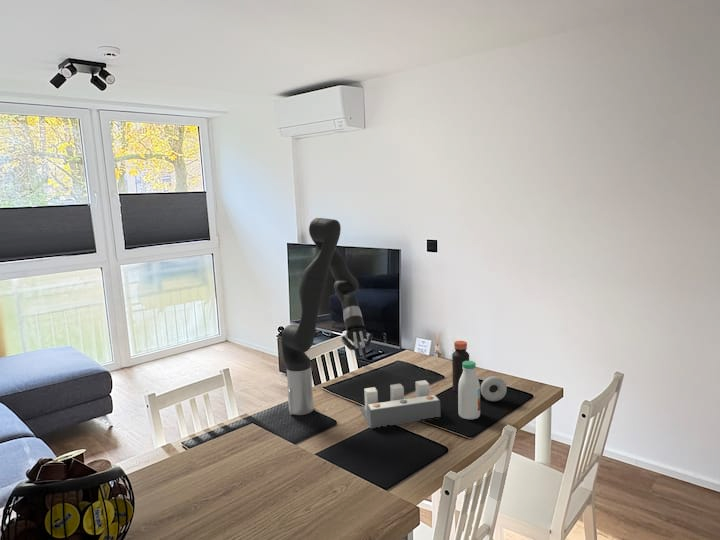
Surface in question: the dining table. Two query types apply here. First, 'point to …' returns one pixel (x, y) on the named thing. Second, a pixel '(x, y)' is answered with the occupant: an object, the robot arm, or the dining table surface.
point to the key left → (370, 396)
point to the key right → (422, 388)
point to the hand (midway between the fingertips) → (361, 357)
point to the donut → (488, 383)
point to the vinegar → (458, 361)
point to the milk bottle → (469, 392)
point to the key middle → (396, 392)
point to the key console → (401, 411)
